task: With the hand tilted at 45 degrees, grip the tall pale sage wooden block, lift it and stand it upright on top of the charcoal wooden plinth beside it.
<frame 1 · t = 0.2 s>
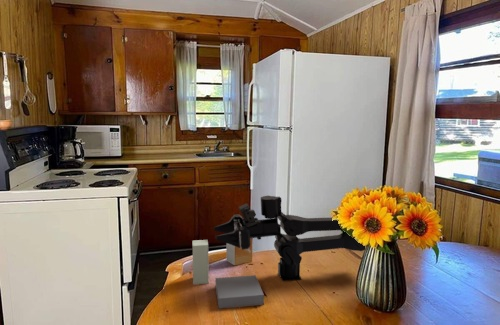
hand: (214, 233, 113), 17 cm above the table, tool horizontal, fingers open, 9 cm apart
sage block: (200, 280, 116), on the table
small box: (239, 261, 132), on the table
plinth: (238, 295, 106), on the table
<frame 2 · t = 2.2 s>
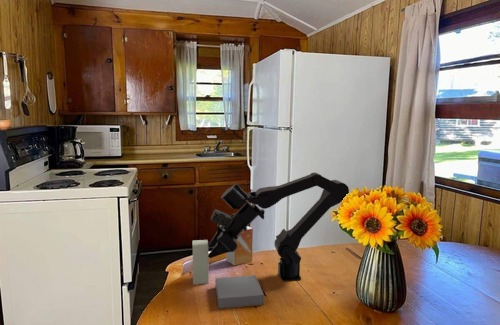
hand: (209, 251, 115), 10 cm above the table, tool tilted 45°, fingers open, 9 cm apart
nothing on the table moved.
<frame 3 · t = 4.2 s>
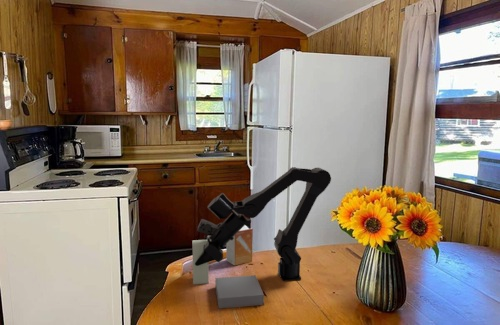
hand: (196, 261, 115), 7 cm above the table, tool tilted 45°, fingers closed on sage block, 5 cm apart
sage block: (200, 280, 116), on the table, touching gripper
everything else where it was.
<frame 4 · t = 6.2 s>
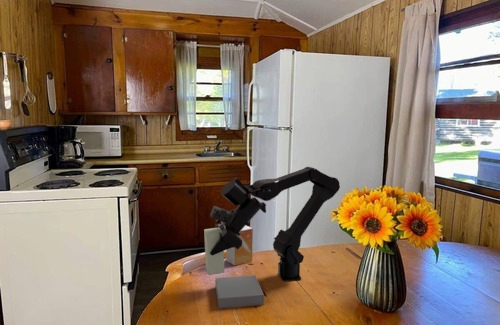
hand: (209, 251, 109), 12 cm above the table, tool tilted 45°, fingers closed on sage block, 5 cm apart
sage block: (215, 270, 110), point 6 cm above the table, touching gripper
everything else where it was.
when the fingers open (11 cm above the table, at t = 8.2 s): sage block drops 1 cm, resting on plinth.
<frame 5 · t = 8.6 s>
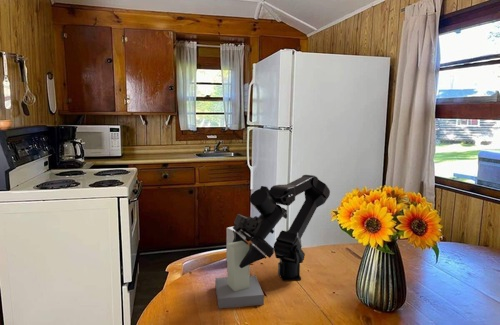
hand: (234, 261, 104), 11 cm above the table, tool tilted 45°, fingers open, 9 cm apart
sage block: (238, 285, 106), point 3 cm above the table, touching plinth
everything else where it was.
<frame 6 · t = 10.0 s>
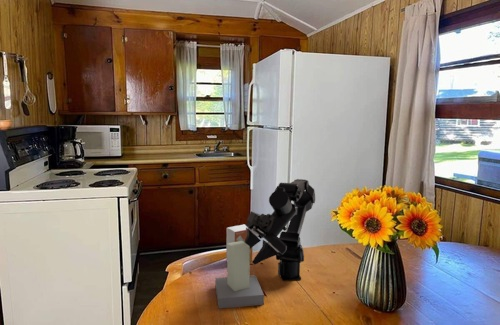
hand: (247, 257, 106), 11 cm above the table, tool tilted 45°, fingers open, 9 cm apart
nothing on the table moved.
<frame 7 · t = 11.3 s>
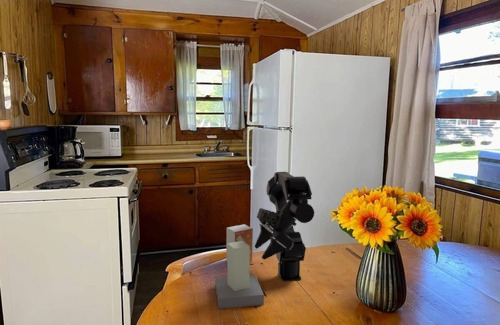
hand: (259, 253, 110), 11 cm above the table, tool tilted 40°, fingers open, 9 cm apart
nothing on the table moved.
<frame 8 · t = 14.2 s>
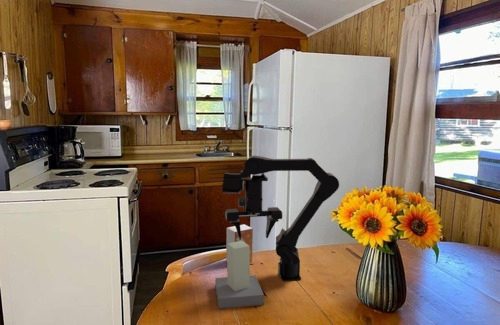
hand: (253, 238, 118), 13 cm above the table, tool pointing down, fingers open, 9 cm apart
nothing on the table moved.
at the end: sage block inside the target area on the plinth (0.0 cm from its centre), point 3.0 cm above the plinth's base; sage block tilted 0°; the gripper is holding nothing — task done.
